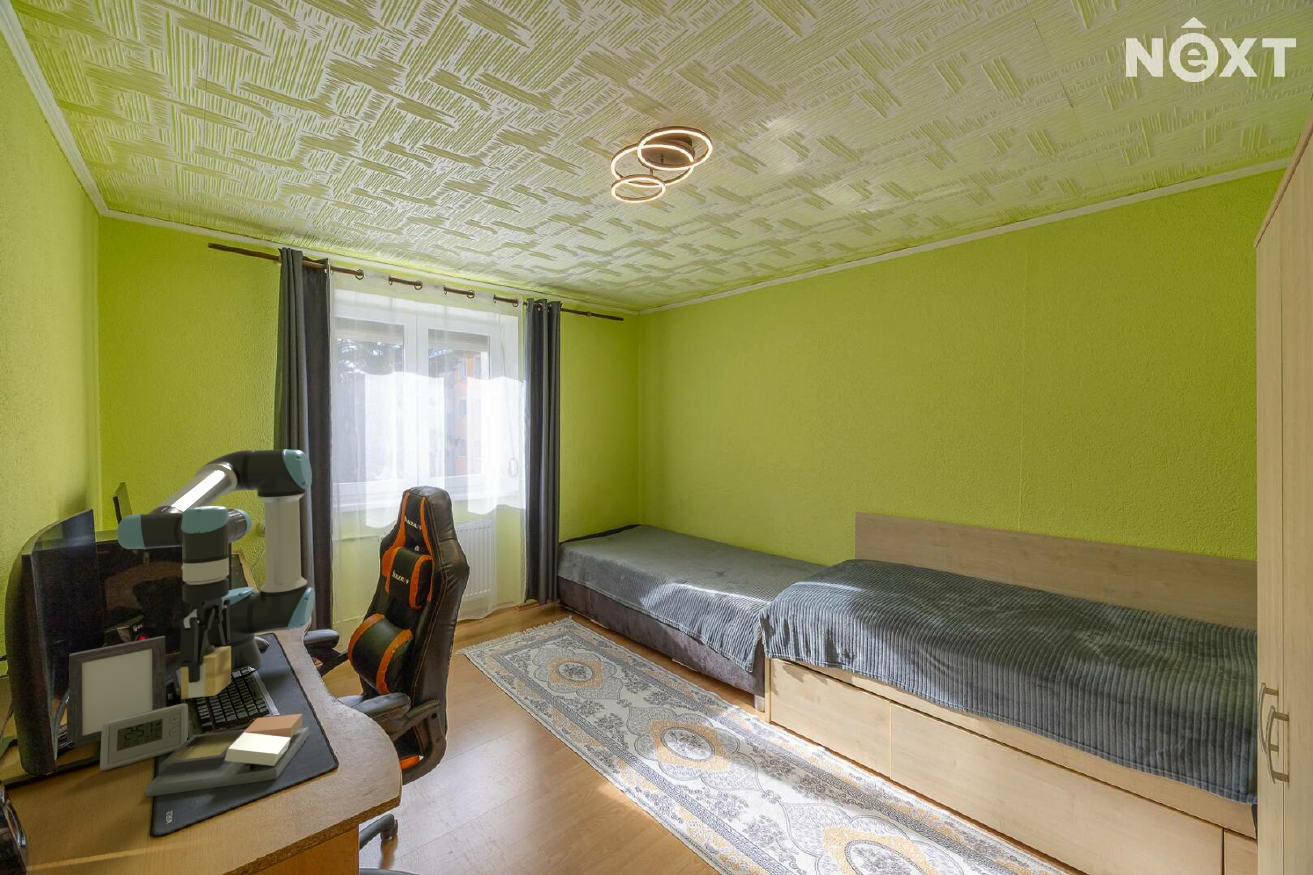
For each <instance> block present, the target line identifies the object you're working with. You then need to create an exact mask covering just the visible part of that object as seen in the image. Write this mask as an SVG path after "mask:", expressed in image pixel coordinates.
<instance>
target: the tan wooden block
mask: <svg viewBox="0 0 1313 875" xmlns="http://www.w3.org/2000/svg"><path fill="white" fill-rule="evenodd" d="M203 663H206V695H205V696H200V697H199V698H201V697H202V698H203V697H212V696H216V695H218V694H219V693H220V692H221V691H222V690H224V689H225V688H226V687H228V686H229V685H230V684H231V683H232V679H231V646H226V647H215V648H214V645H207V646H205V651H204V657H203ZM180 683H181V684H180V685H181V687H180V691H181V692H180V695H181V696H180V697H181V700H187V699H189V698H188V667H180ZM194 698H197V697H191V698H190V699H194Z"/></svg>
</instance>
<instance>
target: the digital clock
mask: <svg viewBox="0 0 1313 875" xmlns="http://www.w3.org/2000/svg"><path fill="white" fill-rule="evenodd" d="M187 738H188V739H189V705H188V703H180V704H175V705H171V706H166V707H164V708H160V709H156V710H151V711H147V712H143V713H139V714H135V715H131V716H127V717H125V718H121V719H117V720H113V721H109V722H106V723H105V724H103V726H102V735H101V740H100V758H99V760H100V761H99V770H101V771H108V770H112V769H115V768H119V767H124V766H128V765H131V764H134V763H138V762H141V761H144V760H148V759H153V758H155V757H159V756H162V755H166V754H169V753H173V752H175V751H176V750H177V749H178V748H179V747H180V746H181V745H183V744H184V743H185V742H186V741H187Z"/></svg>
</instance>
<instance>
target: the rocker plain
mask: <svg viewBox="0 0 1313 875" xmlns="http://www.w3.org/2000/svg"><path fill="white" fill-rule="evenodd" d="M290 739H291V738H289V737H280V736H271V735H263V734H254V733H245V732H244V733H243V734H242V735H241V736H240V737H239V738H238V739H237V740H236V741H235V742H234V743H233V744H232V745H231V746H230V747H229V748H228V750H227V754H226V757H225V761H232V762H242V763H252V764H262V765H271V766H275V764H276V763H277V762H278V760H279V759H280V758H281V757H282V755H283V754H284V753H285V752H286V750H287V749H288V746H289V742H290Z"/></svg>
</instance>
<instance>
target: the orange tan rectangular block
mask: <svg viewBox="0 0 1313 875" xmlns="http://www.w3.org/2000/svg"><path fill="white" fill-rule="evenodd" d="M303 715H304V714H303V713H298V714H297V713H296V714H294V713H293V714H287V715H274V716H263V717H257V718H256V719H255V720H254V721H253V722H252V723H250V725H249V726H248V727H247V728H245V729H246V730H245V731H244V732H245V733H254V734H263V735H271V736H280V737H289V738H292V737H293V735H294V734H295V733H296V732H297V730H298V729H299V728H302V726H303ZM244 732H243V733H244Z"/></svg>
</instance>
